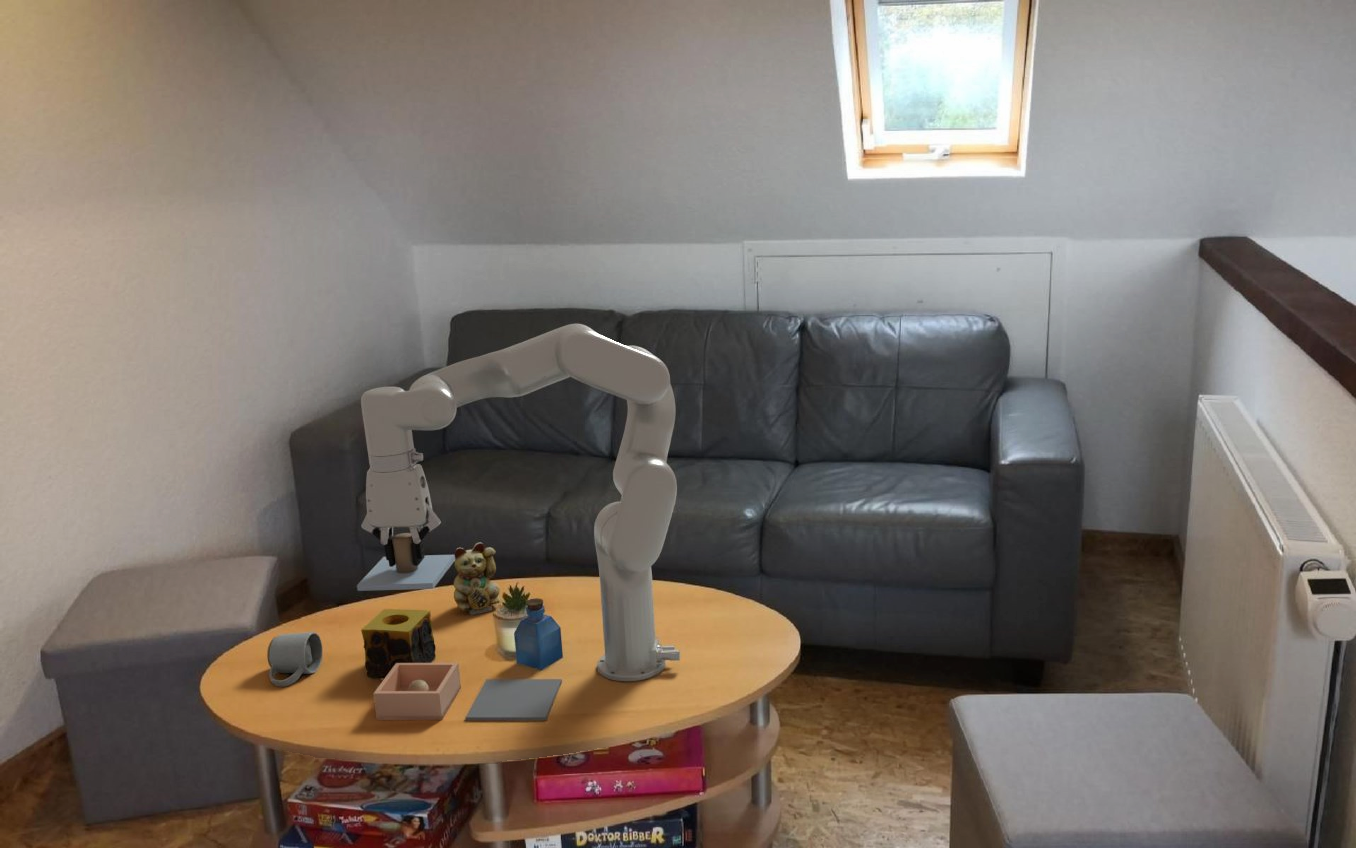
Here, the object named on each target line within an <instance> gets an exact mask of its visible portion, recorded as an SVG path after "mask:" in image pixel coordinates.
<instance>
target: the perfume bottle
mask: <svg viewBox="0 0 1356 848" xmlns="http://www.w3.org/2000/svg"><path fill="white" fill-rule="evenodd" d="M526 605H527V606H526V607H525V610H526V615H527V616H526V617H523V618H522V619H521V620H520V621H519V623H518V625H517V626H516V629H515V631H514V632H513V634H514V635H513V636H514V645H515V646H514V647H515V648H514V649H515V658H516V664H518V665H521V666H524V667H525V666H526V667H528V668H532V669H536V670H540V671H543V670H545V669H546V668H548V667H550V666H551V665H553V664H555V663H556V662H558V661H560V660H561V659H563V658H564V652H563V644H562V643H563V641H562V640H563V639H562V631H561V630H562V629H561V628H562V627H561V626H560V625H559V624H558V623H557V622H556V620H555V619H554V618H553V617H552V616H551V615H548V614H545V612H546V610H545V605H544V599H542V598H538V597H537V598H530V599H528V600H526Z"/></svg>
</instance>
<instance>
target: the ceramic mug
mask: <svg viewBox="0 0 1356 848" xmlns="http://www.w3.org/2000/svg"><path fill="white" fill-rule="evenodd" d="M266 657H267V662H268V666H269V667H270V669H269V673H268V674H269V678H270V681H271V682H272V684H273V685H275V686H277V687H287V686H290V685H292V684H294V683H296V682H297V681H298V680H299V678H300V677H301V676H302V674H304V675H305V674H306V675H307V674H309V675H310V674H311V675H312V674H315V673H316V672H317V671H318V670H319V668H320V666H321V663H322V660H323V643H322V640H321V637H320V635H319V634H318V633H316V632H314V631H307V632H296V633H283V634H279V635H276V636H274V637H273V638H272V639H271V641H270V642H269V644H268V647H267V655H266ZM276 673H278V674H280V673H281V674H291V675H290V676H289V677H287V678H285V679H283V680H282V679H281V680H278V679H276V678H275V674H276Z"/></svg>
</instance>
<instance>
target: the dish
mask: <svg viewBox="0 0 1356 848" xmlns="http://www.w3.org/2000/svg"><path fill="white" fill-rule="evenodd" d="M415 680H423V681H425V682H426V683H427V685H428V687H429V691H408V688H409V685H410V684H411V683H412V682H413V681H415ZM461 689H462V684H461V675H460V665H459V662H431V663H396V664H395V665H394V667H393V668H392V669H391V671H390V672H389V673H388V675H387V676H386V677H385V679H382V682H381V683H380V684H379V685H378V687H377V688H376V690H374V692H373V698H374V699H373V701H374V706H375V707H374V708H375V715H376V717H375V718H376V721H377V720H378V721H442V720H443V719H444V718H445V716H446V715H447V713H448V711H449V710H450V708H451V706H452V704H453V702H454V701H455V699H456V697H457V696H458V694H459V693H460V691H461Z"/></svg>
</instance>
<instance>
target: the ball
mask: <svg viewBox="0 0 1356 848" xmlns="http://www.w3.org/2000/svg"><path fill="white" fill-rule="evenodd" d="M408 691H429V687H428V685H427V683H426V682H425V681H423V680H415V681H413V682H412V683H411V684H410V685H409V688H408Z"/></svg>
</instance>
